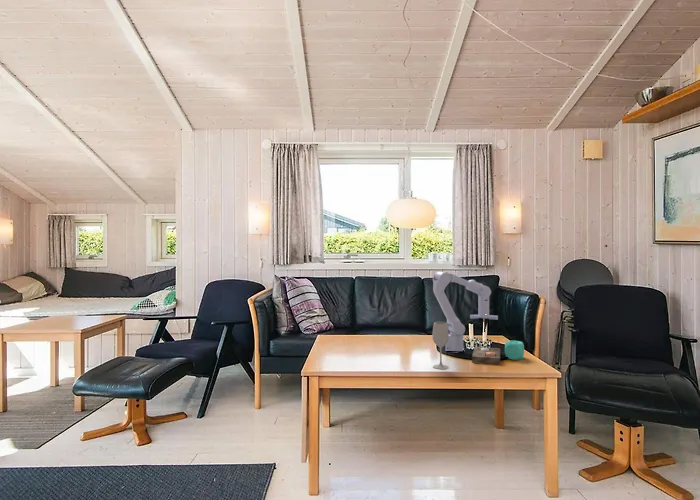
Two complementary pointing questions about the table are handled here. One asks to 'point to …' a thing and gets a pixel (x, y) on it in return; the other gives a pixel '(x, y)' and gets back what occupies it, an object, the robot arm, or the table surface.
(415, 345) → the table surface
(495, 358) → the button panel
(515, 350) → the decorative dice
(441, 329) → the wineglass
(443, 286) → the robot arm
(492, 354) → the terracotta button
